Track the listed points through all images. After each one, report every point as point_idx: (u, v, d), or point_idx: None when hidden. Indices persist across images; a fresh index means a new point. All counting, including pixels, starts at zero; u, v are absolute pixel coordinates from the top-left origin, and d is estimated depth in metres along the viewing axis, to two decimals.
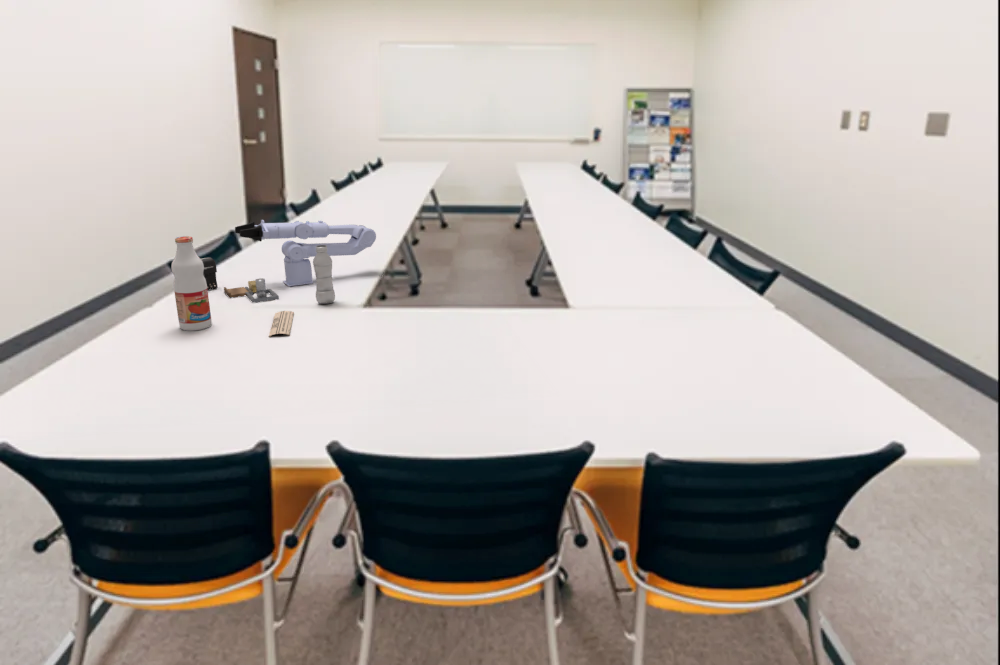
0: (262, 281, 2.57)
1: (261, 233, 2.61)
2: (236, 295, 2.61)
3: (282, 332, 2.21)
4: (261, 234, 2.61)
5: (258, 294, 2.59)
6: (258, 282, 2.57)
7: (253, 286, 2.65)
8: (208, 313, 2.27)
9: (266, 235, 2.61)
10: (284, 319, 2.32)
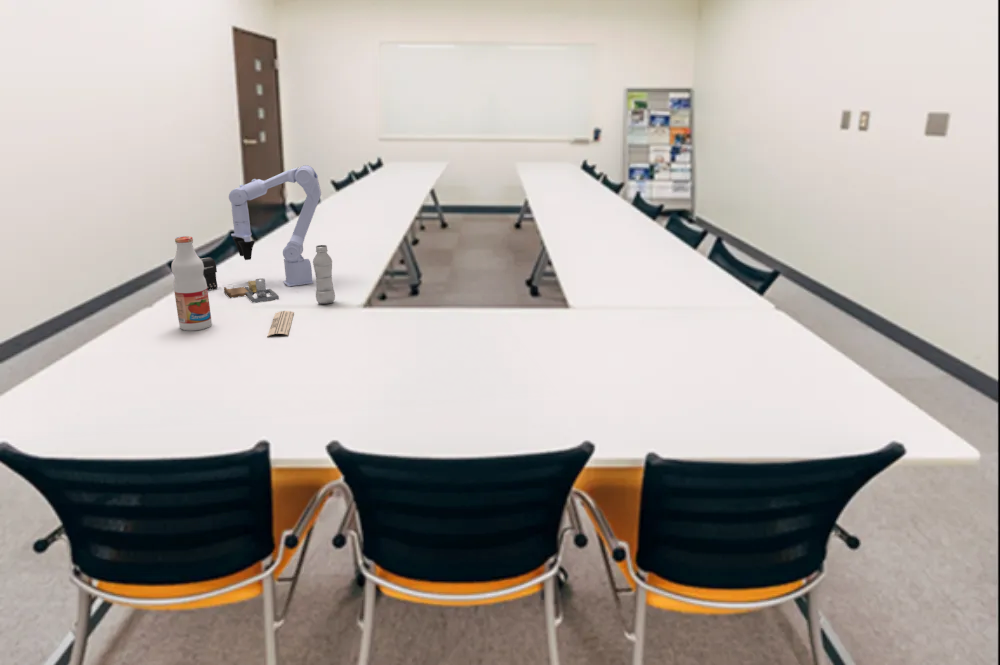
0: (262, 281, 2.57)
1: (246, 242, 2.66)
2: (236, 295, 2.61)
3: (281, 332, 2.20)
4: (247, 242, 2.66)
5: (258, 294, 2.59)
6: (258, 282, 2.57)
7: (253, 286, 2.65)
8: (208, 313, 2.27)
9: (248, 238, 2.65)
10: (283, 319, 2.32)
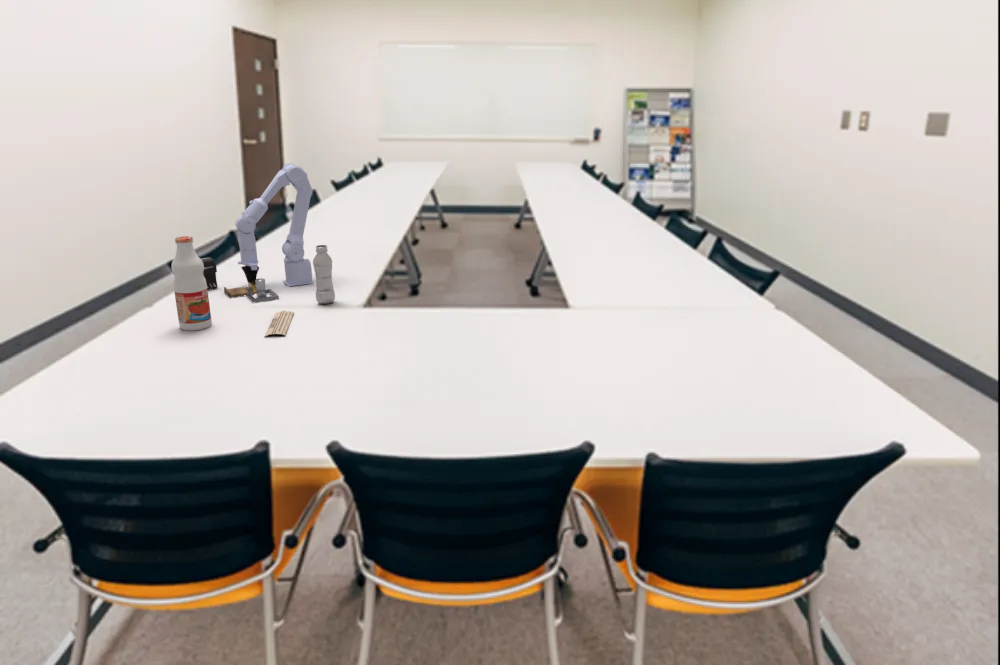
0: (262, 281, 2.57)
1: (251, 268, 2.67)
2: (236, 295, 2.61)
3: (278, 332, 2.20)
4: None
5: (258, 294, 2.59)
6: (258, 282, 2.57)
7: (253, 286, 2.65)
8: (208, 313, 2.27)
9: (255, 267, 2.63)
10: (282, 320, 2.32)
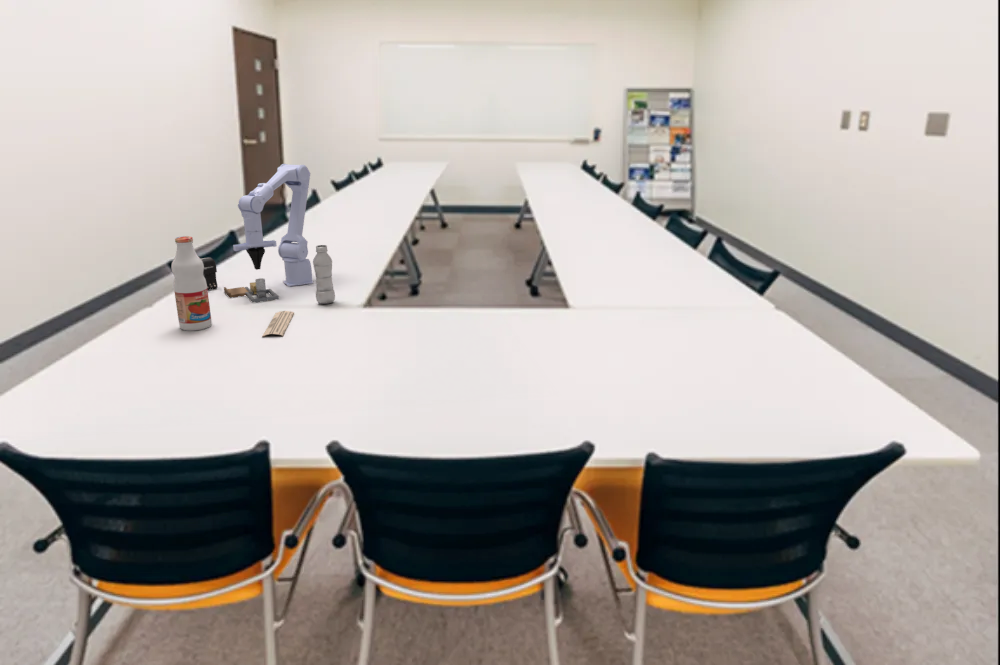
0: (262, 281, 2.57)
1: (247, 250, 2.55)
2: (236, 295, 2.61)
3: (276, 332, 2.20)
4: (248, 250, 2.55)
5: (258, 294, 2.59)
6: (258, 282, 2.57)
7: (255, 288, 2.63)
8: (208, 313, 2.27)
9: (234, 248, 2.52)
10: (281, 320, 2.32)
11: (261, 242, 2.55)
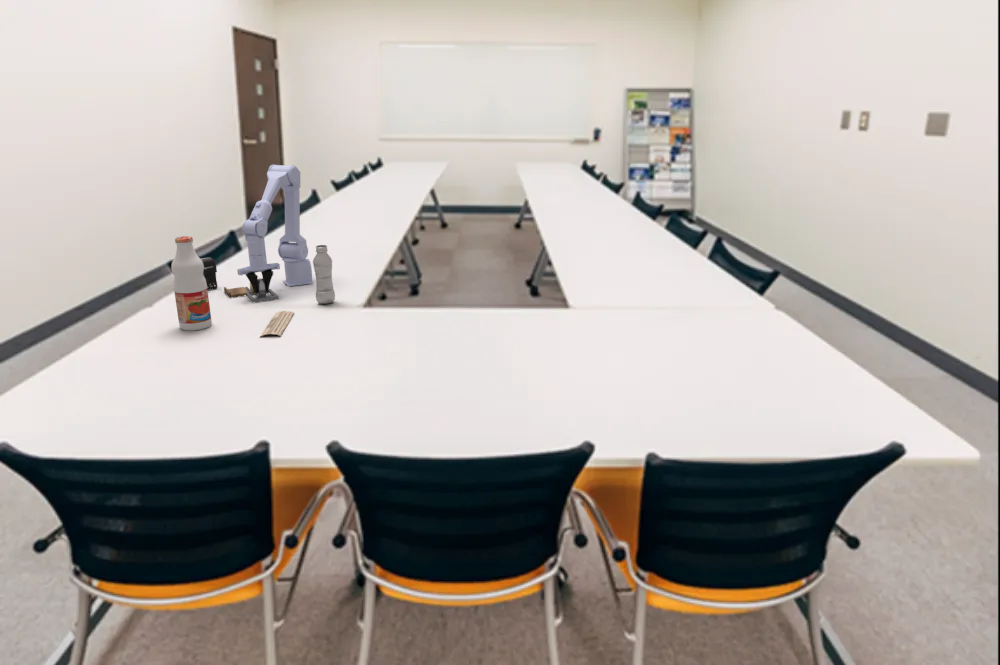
0: (262, 281, 2.57)
1: (247, 274, 2.55)
2: (236, 295, 2.61)
3: (274, 333, 2.20)
4: (247, 274, 2.55)
5: (258, 294, 2.59)
6: (258, 282, 2.57)
7: None
8: (208, 313, 2.27)
9: (238, 272, 2.52)
10: (280, 320, 2.32)
11: (265, 265, 2.56)
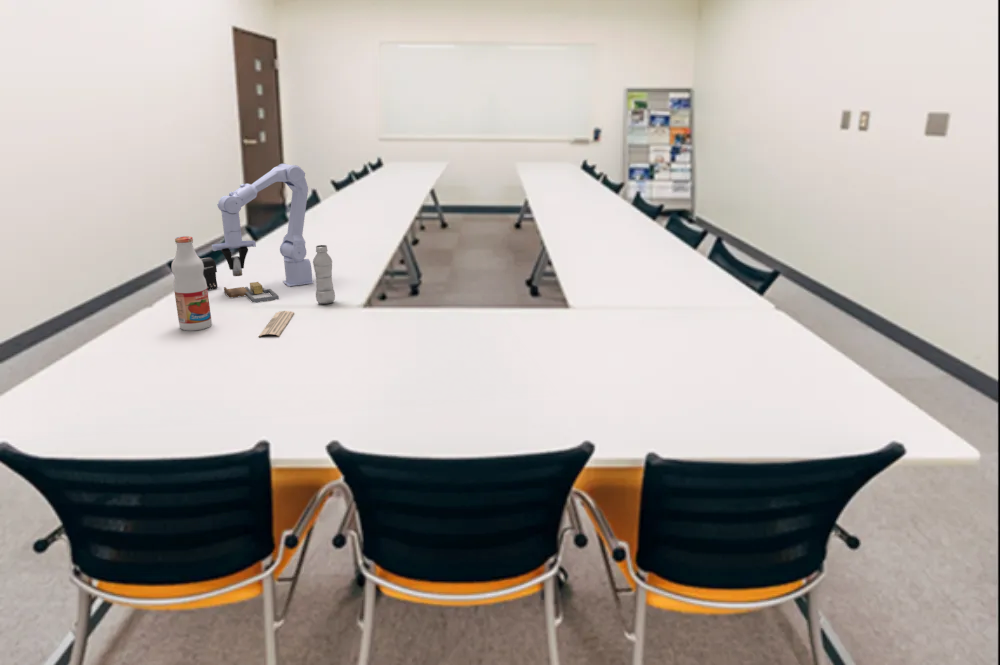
0: (237, 259, 2.59)
1: (221, 250, 2.57)
2: (236, 295, 2.61)
3: (272, 333, 2.20)
4: (222, 250, 2.57)
5: (234, 272, 2.60)
6: (233, 260, 2.58)
7: (255, 288, 2.63)
8: (208, 313, 2.27)
9: (212, 247, 2.55)
10: (280, 320, 2.32)
11: (239, 242, 2.57)
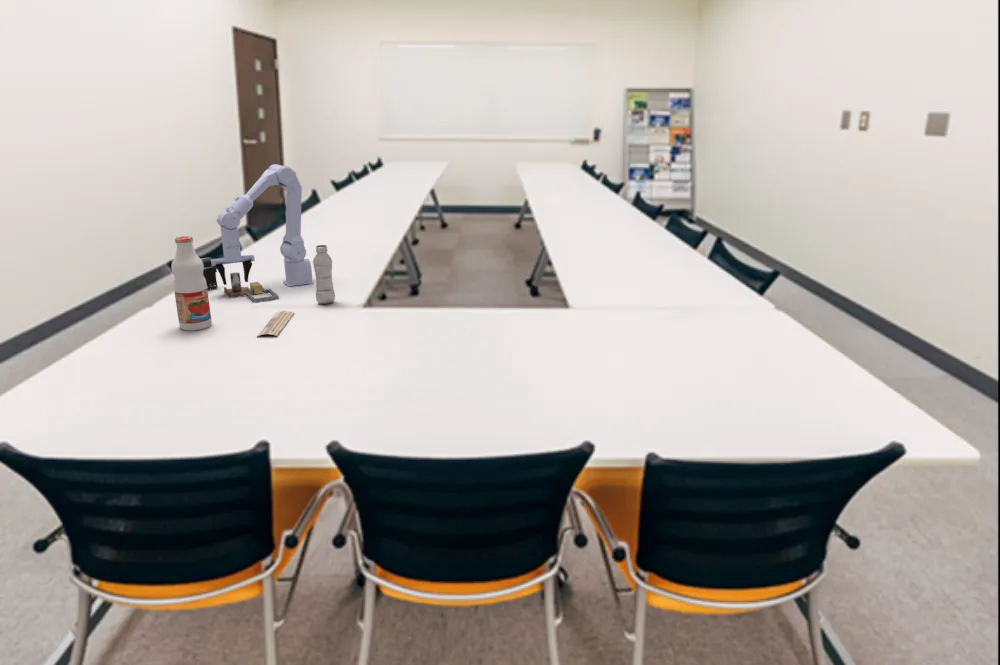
0: (237, 275, 2.61)
1: (215, 266, 2.59)
2: (236, 295, 2.61)
3: (271, 333, 2.20)
4: (215, 266, 2.58)
5: (233, 288, 2.63)
6: (233, 276, 2.61)
7: (255, 288, 2.63)
8: (208, 313, 2.27)
9: (211, 262, 2.57)
10: (279, 320, 2.32)
11: (238, 257, 2.59)
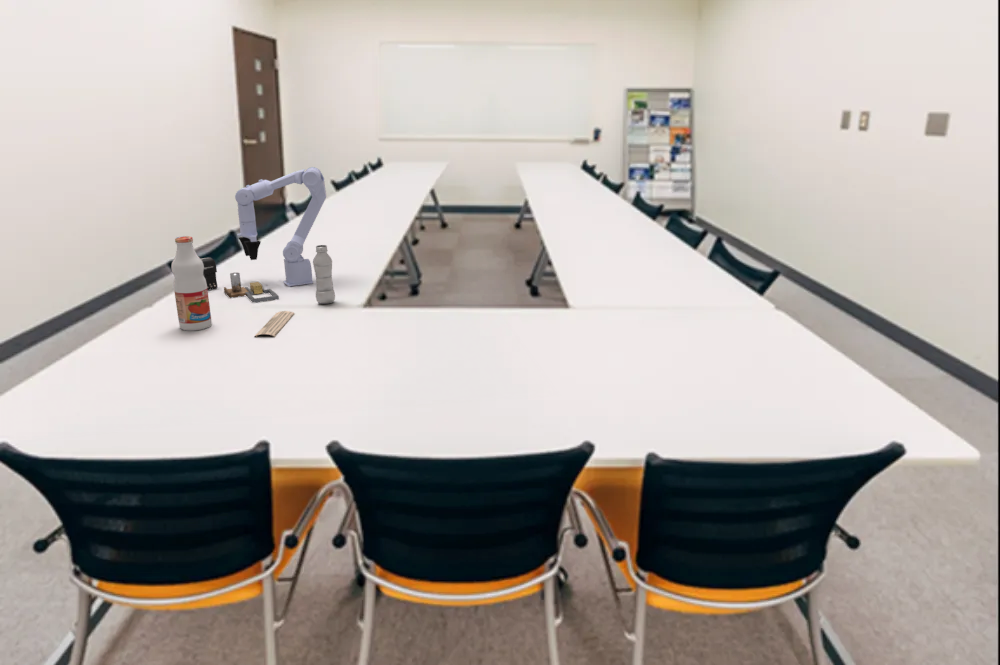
0: (236, 275, 2.61)
1: (252, 242, 2.66)
2: (236, 295, 2.61)
3: (268, 333, 2.20)
4: (253, 242, 2.66)
5: (233, 288, 2.63)
6: (232, 276, 2.61)
7: (255, 288, 2.63)
8: (208, 313, 2.27)
9: (254, 238, 2.65)
10: (278, 320, 2.32)
11: None
